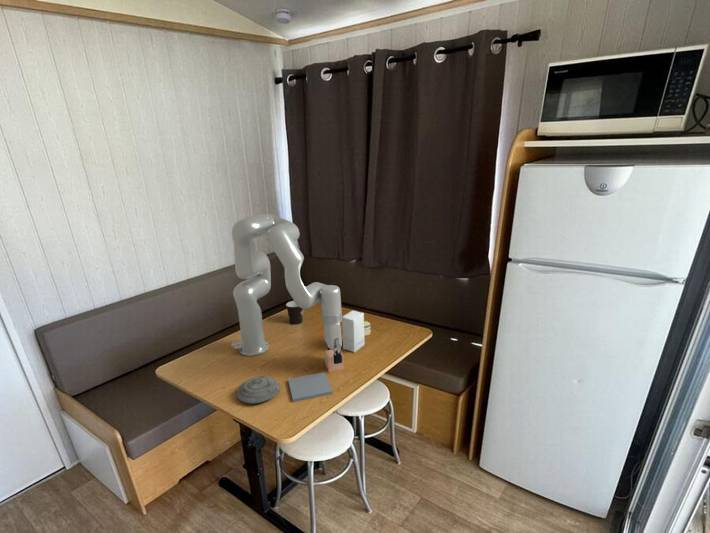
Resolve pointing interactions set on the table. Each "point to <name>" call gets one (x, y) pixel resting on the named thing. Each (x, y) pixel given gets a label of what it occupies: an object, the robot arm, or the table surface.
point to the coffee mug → (294, 313)
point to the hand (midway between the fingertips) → (335, 357)
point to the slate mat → (309, 386)
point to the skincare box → (353, 331)
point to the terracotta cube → (332, 361)
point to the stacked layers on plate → (366, 328)
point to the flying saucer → (258, 389)
